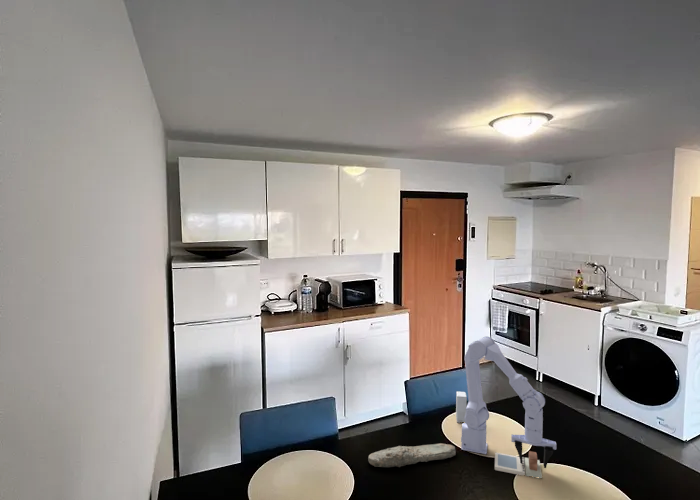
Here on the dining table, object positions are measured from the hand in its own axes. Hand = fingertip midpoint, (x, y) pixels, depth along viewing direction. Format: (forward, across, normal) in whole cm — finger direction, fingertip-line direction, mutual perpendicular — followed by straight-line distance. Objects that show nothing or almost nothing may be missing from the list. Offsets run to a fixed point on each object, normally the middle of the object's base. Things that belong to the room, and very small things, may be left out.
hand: (532, 464), depth 142 cm
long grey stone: (+3, +42, +8) cm, 43 cm away
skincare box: (+2, +28, -30) cm, 41 cm away
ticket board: (+2, +8, 0) cm, 8 cm away
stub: (+2, 0, 0) cm, 2 cm away
